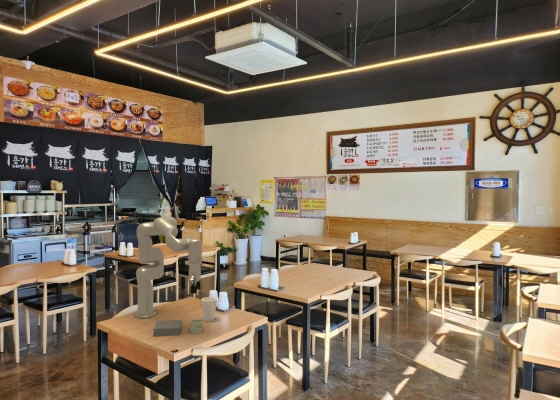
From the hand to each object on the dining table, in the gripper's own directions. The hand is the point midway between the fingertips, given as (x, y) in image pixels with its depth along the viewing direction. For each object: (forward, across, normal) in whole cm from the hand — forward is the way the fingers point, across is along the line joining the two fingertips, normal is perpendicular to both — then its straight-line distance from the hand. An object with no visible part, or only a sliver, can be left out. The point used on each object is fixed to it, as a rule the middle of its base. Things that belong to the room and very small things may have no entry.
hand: (195, 291), depth 225 cm
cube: (+23, -1, 0) cm, 23 cm away
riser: (+22, 0, -16) cm, 28 cm away
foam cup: (+23, -21, +3) cm, 32 cm away
